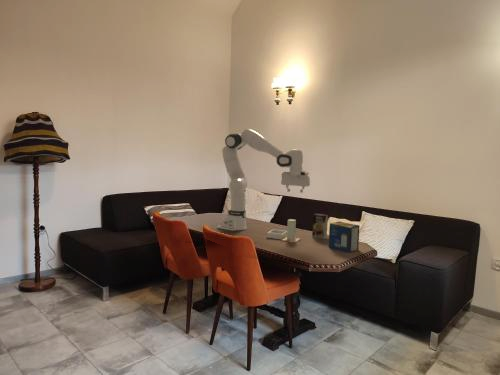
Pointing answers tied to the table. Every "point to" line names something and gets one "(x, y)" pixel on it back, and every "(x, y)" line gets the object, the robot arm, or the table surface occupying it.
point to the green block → (291, 229)
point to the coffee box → (320, 226)
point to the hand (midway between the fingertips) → (295, 192)
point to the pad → (291, 240)
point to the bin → (277, 234)
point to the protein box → (344, 236)
